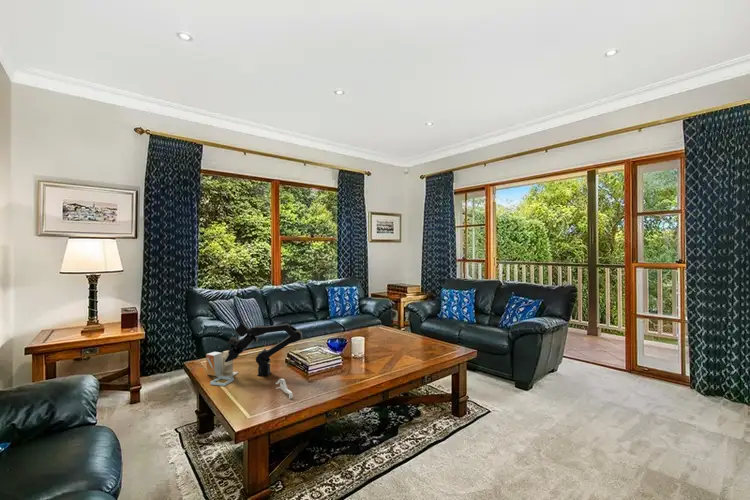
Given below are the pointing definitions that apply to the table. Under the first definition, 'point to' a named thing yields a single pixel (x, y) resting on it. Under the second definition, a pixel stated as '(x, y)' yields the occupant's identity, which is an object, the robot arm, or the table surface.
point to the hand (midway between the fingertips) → (228, 359)
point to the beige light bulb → (227, 365)
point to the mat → (229, 375)
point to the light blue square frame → (222, 383)
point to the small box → (214, 363)
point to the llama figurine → (284, 387)
